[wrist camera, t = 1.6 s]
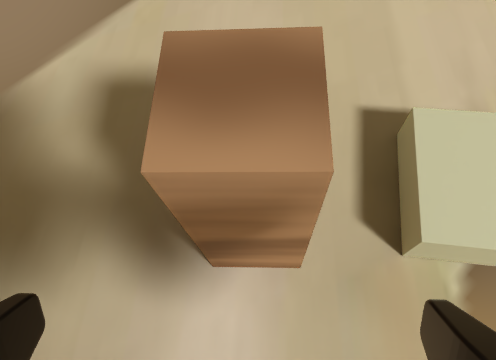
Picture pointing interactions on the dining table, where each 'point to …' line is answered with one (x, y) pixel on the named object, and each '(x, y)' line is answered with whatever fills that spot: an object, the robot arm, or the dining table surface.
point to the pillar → (242, 141)
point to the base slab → (448, 185)
